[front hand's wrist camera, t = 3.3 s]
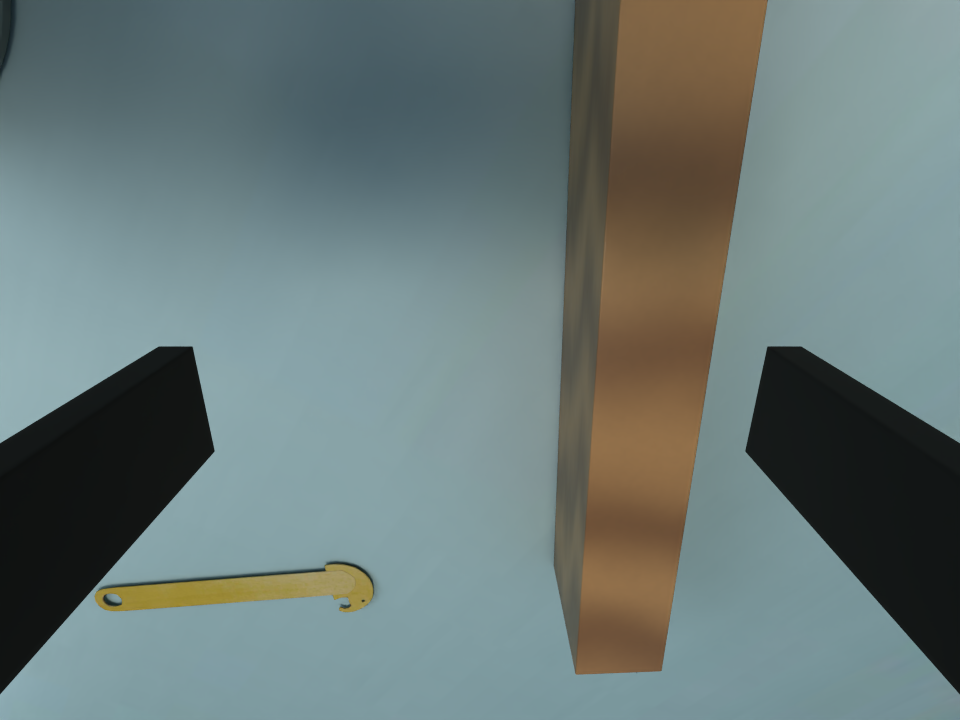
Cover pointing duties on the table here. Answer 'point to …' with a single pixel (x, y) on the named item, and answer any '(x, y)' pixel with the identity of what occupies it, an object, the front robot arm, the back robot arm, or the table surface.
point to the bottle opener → (247, 590)
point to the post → (642, 302)
